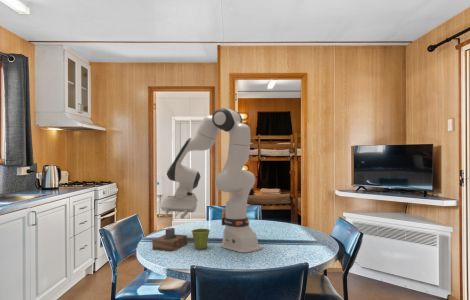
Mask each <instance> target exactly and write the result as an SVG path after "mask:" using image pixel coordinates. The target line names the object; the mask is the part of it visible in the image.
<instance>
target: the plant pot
mask: <svg viewBox="0 0 470 300" xmlns="http://www.w3.org/2000/svg"><path fill="white" fill-rule="evenodd" d="M210 231H211V230H210V229H209V228H196V229H195V228H194V229H191V234H192V237H193V242H194V243H193V244H194V248H195V249H199V250H205V249H206V248H207V247H208V241H209V234H210Z"/></svg>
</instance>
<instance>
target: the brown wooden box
mask: <svg viewBox="0 0 470 300" xmlns="http://www.w3.org/2000/svg"><path fill="white" fill-rule="evenodd" d="M175 235H176V236H175V238H172V239H164V238H165V237H166V234H164V235H161V236H159V237H156V238H154V239H152V248H151V249H152V250H156V251H165V252H175V251H177V250H179V249H180V248H183V247H184V246H186V245H188V236H187V235H186V234H177V233H175Z"/></svg>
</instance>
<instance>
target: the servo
mask: <svg viewBox="0 0 470 300" xmlns="http://www.w3.org/2000/svg"><path fill="white" fill-rule="evenodd" d="M175 230H176V228H174V227H169V226H168V227H167V228H165V235H166V237H165V238H164V239H172V238H175V236H176V235H177V234H176V232H175ZM175 234H176V235H175Z"/></svg>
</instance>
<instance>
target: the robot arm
mask: <svg viewBox="0 0 470 300" xmlns="http://www.w3.org/2000/svg"><path fill="white" fill-rule="evenodd" d="M221 130H222V131H224V132H226V133H227V132H228V134H229V142H228V152H227V157H226V158H227V159H226V161H225V163H224V166H223V168H222V170H221V171H220V172H219V173H218V174H217V175H216V177H215V187H216V188H217V189H218V191H220V192H224V193H230V196H229V198H228V199H227V201H226V202H225V207H226V217H225V225H224V226H225V227H224V229H223V234H222V243H221V244H220V248H222V249H223V248H224V249H227V250H231V251H234V252H238V253H250V252H251V253H252V252H256V251H259V250H262V249H263V245H261V244H260V243H258V235H257V233H256V232H254V230H253V229H252V228H251V227H250V223H251V222H250V220H249V219H248V215H247V213H248V209H247V208H248V199H249V195H250V192H251V190H252V188H253V186H254V185H255V184H256V177H255V174H254V173H253V172H251V171H249V170H246V169H243V168H244V166H245V165H246V164H247V162H249V160H250V152H251V151H250V150H251V149H250V148H251V140H252V139H251V128H250V126H249V125H248V124H246V123H243V117H242V115H241V114H240V113H239V112H237V111H235V110H233V109H230V108H224V107H223V108H219V109H217V110H215V111H214V112H213V114H208V115H205V117H204V118H203V120H202V121H201V122H200V125H199V126H198V129H197V131H196V132H195V134H194V136H193V137H190V138H188V139H187V140H186V141H185V142H184V144H183V146H182V147H181V149H180V150H179V152H178V154H177V155H176V156H175V158H174V160H173V162H171V164H170V165H169V167H168V168H167V171H166V175H167V178H168V180H170V181H173V182H177V183H178V187H177V188H176V191H175V192H174V195H168V196H166V197H165V198H164V200H163V201H162V202H161V204H160V208H161V210H162V212H164V213H165V214H164V217H165V218H166V219H167V218H168V219H169V217H170V214H169V213H170V212H175V213H176V212H178V213H181V214H180V215H179V217H180V219H185V217H186V216H187V215H188V213H195V211H196V209H197V207H198V206H197V205H198V198H197V196H196V195H195V193H193V190H194V189H196V188H197V187H198V185H199V182H200V180H201V174H200V172H199V171H198V170H196V169H193V168H191V167H187V166H185V165H183V164H182V162H183V160H184V159H185V157H186V156H187V154H188V153H189V152H193V151H198V152H199V151H201V152H202V151H208V150H210V149H212V147H213V146H214V144H215V142H216V140H217V137H218V134H219V133H220V131H221Z"/></svg>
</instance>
